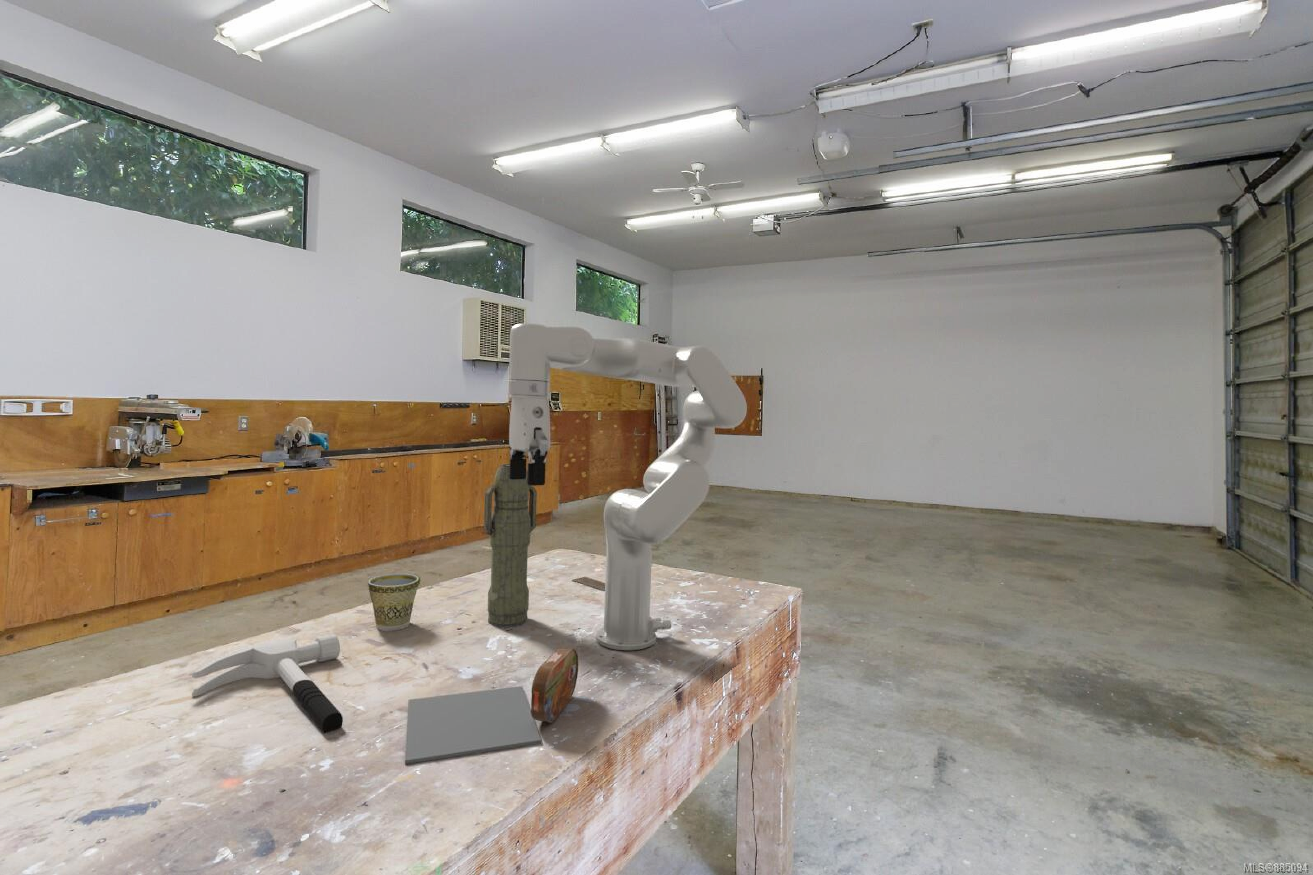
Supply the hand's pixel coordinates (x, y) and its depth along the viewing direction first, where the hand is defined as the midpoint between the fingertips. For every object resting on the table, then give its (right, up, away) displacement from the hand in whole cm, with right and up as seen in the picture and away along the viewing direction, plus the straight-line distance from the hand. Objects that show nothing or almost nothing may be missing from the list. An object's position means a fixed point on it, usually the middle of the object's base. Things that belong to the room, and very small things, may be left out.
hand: (526, 482), depth 116 cm
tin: (+8, -35, -18) cm, 40 cm away
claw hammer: (-34, -34, -17) cm, 51 cm away
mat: (-4, -35, -23) cm, 42 cm away
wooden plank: (+9, -33, +52) cm, 62 cm away
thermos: (-9, -33, +22) cm, 41 cm away
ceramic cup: (-32, -32, +18) cm, 49 cm away
